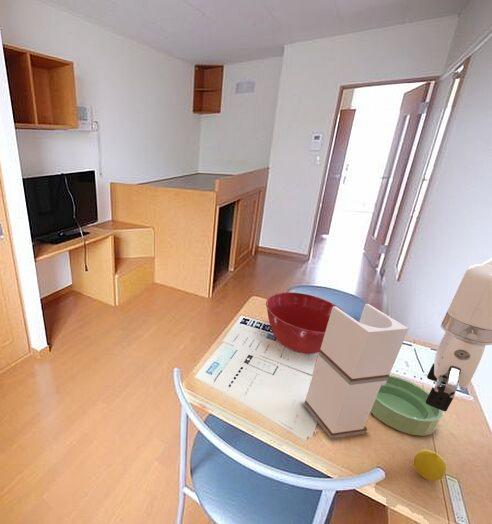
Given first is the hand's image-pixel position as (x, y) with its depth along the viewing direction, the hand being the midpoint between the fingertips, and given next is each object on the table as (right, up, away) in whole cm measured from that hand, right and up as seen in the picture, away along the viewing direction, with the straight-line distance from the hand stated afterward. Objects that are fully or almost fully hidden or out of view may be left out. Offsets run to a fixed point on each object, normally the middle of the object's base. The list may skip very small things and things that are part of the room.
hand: (435, 393), depth 66 cm
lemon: (+5, -24, +8) cm, 26 cm away
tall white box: (-8, -18, +23) cm, 30 cm away
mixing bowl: (-1, -4, +56) cm, 56 cm away
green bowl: (+13, -16, +26) cm, 33 cm away
